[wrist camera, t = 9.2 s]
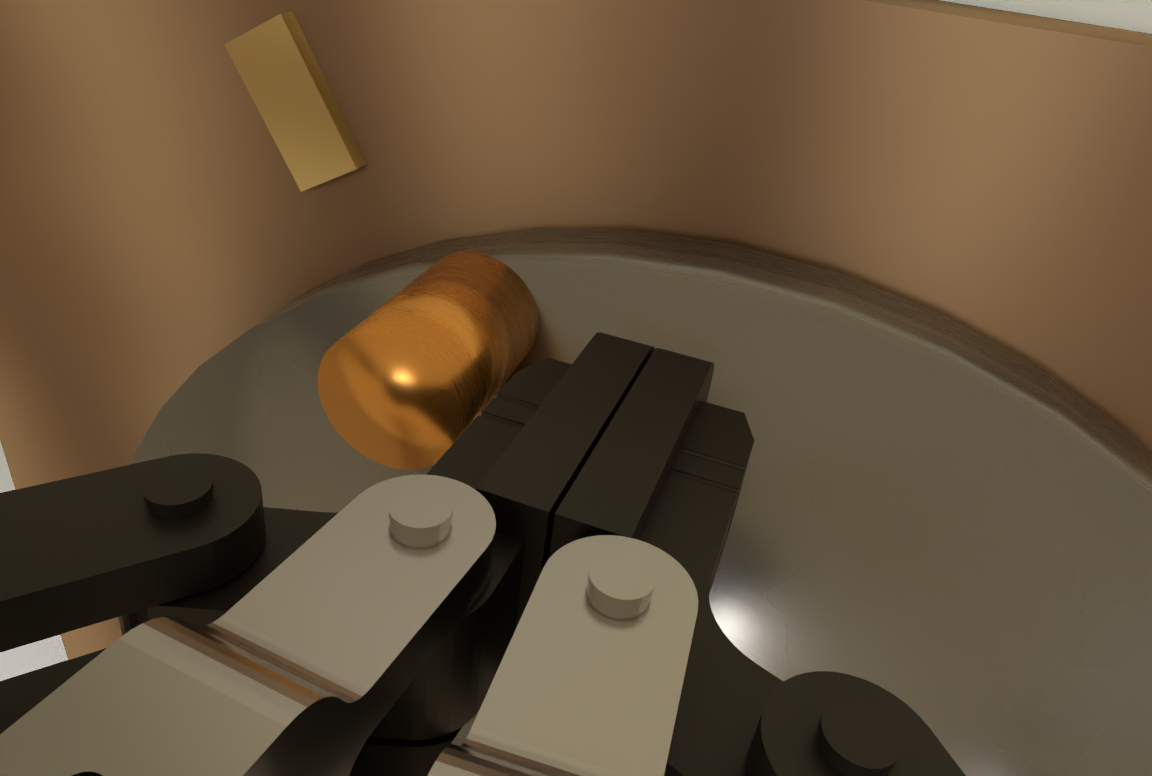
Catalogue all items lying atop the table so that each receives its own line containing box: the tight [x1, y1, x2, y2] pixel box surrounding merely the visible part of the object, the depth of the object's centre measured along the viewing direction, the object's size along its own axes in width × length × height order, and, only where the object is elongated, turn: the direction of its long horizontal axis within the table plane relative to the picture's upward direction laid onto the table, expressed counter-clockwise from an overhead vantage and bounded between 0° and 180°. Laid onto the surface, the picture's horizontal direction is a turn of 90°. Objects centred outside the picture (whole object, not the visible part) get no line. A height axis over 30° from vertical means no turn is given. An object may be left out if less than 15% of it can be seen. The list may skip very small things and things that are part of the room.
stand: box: [0, 0, 1152, 660], centre depth 19 cm, size 32×30×3 cm
